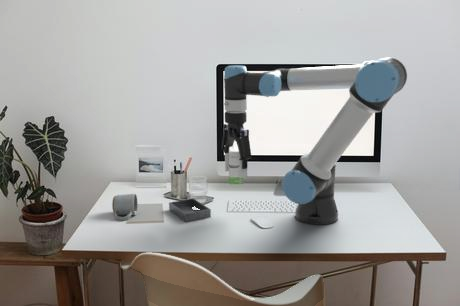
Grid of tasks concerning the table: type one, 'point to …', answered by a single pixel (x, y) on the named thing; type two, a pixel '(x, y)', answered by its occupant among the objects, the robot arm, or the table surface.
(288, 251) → the table surface
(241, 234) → the table surface
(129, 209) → the ceramic mug
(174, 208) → the tray
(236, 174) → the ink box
